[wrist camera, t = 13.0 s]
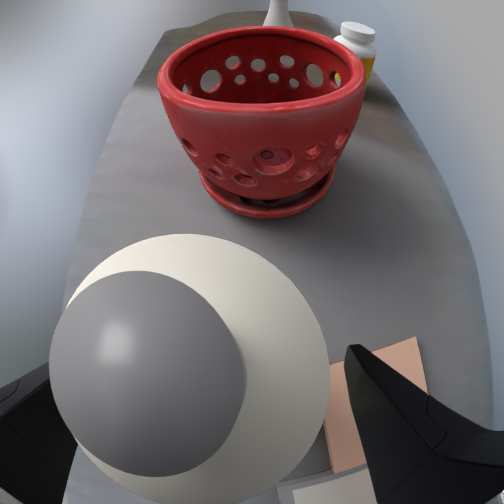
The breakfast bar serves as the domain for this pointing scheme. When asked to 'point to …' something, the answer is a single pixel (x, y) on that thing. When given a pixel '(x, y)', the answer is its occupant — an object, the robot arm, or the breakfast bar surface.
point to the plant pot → (264, 116)
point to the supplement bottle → (358, 45)
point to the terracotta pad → (339, 409)
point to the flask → (278, 14)
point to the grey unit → (329, 488)
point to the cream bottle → (190, 370)
